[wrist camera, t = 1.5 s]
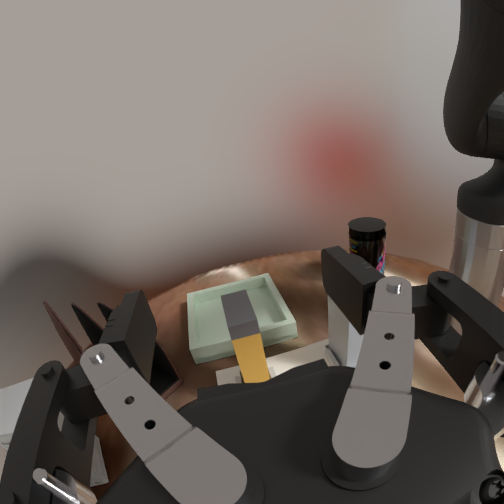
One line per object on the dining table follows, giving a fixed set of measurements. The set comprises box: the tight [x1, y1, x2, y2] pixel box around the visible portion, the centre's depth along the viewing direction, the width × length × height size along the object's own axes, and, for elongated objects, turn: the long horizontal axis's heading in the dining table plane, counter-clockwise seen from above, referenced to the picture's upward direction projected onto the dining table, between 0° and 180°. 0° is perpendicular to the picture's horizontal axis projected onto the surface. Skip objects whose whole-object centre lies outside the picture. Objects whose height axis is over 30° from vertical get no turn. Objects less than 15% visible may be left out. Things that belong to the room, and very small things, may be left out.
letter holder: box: [43, 301, 183, 400], centre depth 34 cm, size 10×20×14 cm, turn 54°
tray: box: [187, 273, 298, 364], centre depth 45 cm, size 15×15×3 cm
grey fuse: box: [328, 295, 364, 368], centre depth 29 cm, size 2×5×14 cm, turn 12°
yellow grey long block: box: [221, 289, 270, 383], centre depth 28 cm, size 2×5×14 cm, turn 12°
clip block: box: [216, 338, 339, 385], centre depth 31 cm, size 20×8×3 cm, turn 102°
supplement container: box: [348, 217, 386, 275], centre depth 48 cm, size 7×7×10 cm
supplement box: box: [0, 378, 109, 487], centre depth 19 cm, size 7×7×13 cm
